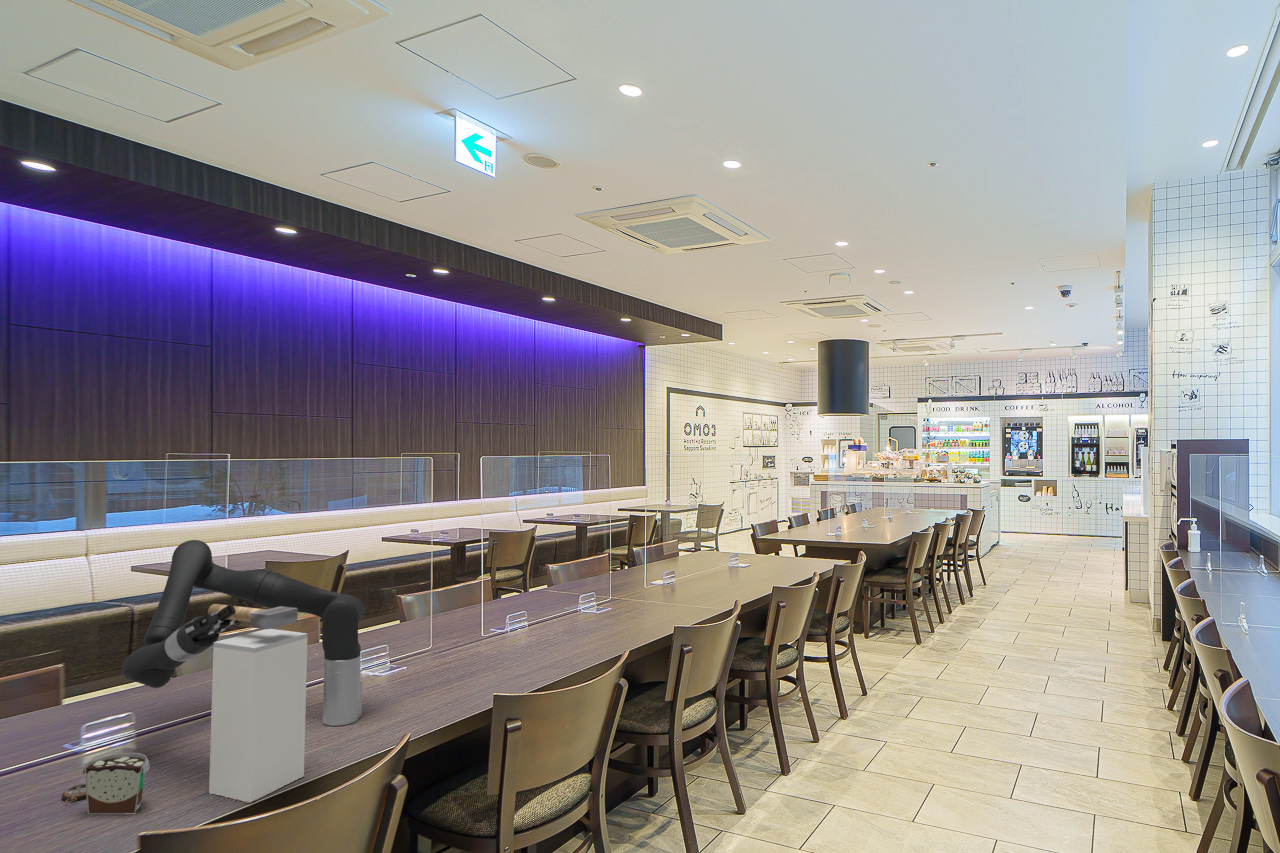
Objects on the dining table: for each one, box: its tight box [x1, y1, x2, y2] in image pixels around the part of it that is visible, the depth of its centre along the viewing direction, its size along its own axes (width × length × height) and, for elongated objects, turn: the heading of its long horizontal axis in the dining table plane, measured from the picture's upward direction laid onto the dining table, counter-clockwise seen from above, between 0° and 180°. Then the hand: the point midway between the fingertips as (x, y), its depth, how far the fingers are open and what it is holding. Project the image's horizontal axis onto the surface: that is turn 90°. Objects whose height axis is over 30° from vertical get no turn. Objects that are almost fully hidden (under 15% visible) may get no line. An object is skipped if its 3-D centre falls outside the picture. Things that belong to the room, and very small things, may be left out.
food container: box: [81, 752, 150, 815], centre depth 152 cm, size 12×6×10 cm, turn 92°
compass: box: [61, 783, 87, 803], centre depth 156 cm, size 8×8×7 cm
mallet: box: [207, 603, 299, 630], centre depth 165 cm, size 21×8×3 cm, turn 68°
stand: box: [208, 628, 309, 802], centre depth 163 cm, size 14×12×32 cm
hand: (239, 607), depth 166 cm, fingers closed on mallet, 3 cm apart
